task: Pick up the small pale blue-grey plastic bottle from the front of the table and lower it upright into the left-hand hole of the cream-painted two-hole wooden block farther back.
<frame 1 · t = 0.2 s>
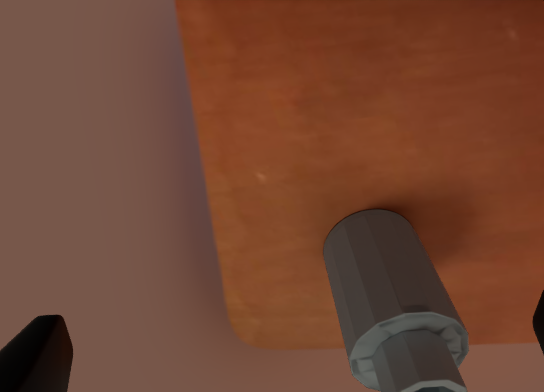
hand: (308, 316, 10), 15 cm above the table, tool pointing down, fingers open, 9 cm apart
bottle: (369, 247, 28), on the table
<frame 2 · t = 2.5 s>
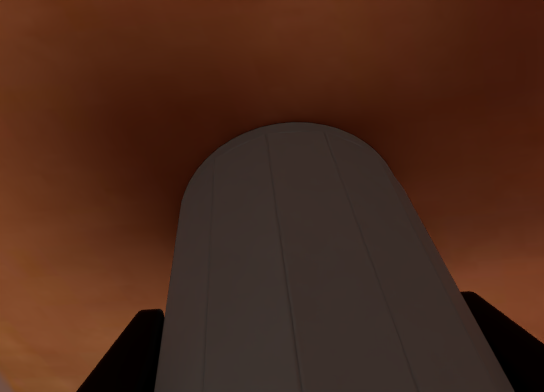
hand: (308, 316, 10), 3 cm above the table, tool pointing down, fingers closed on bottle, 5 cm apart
bottle: (290, 222, 12), on the table, touching gripper
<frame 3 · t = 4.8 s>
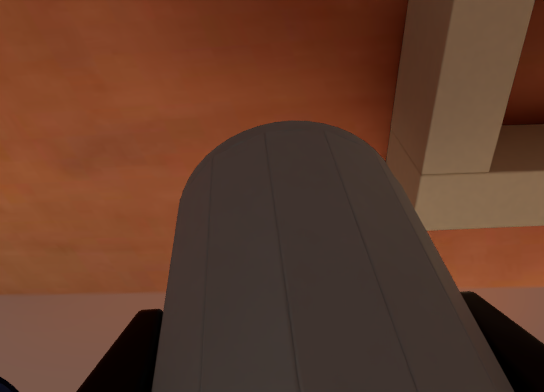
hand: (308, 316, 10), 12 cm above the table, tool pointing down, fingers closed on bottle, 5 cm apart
bottle: (289, 220, 12), point 9 cm above the table, touching gripper
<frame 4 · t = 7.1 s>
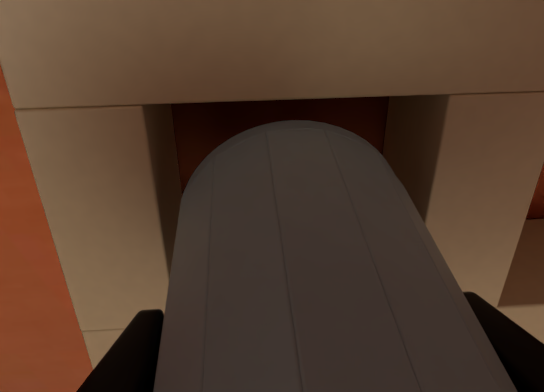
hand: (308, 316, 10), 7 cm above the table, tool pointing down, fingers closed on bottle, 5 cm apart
hole block: (423, 141, 15), on the table
bottle: (291, 220, 12), point 4 cm above the table, touching gripper
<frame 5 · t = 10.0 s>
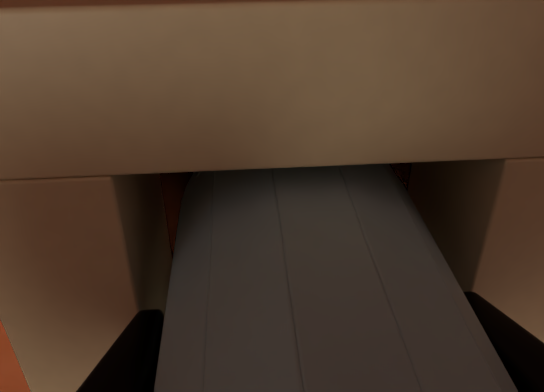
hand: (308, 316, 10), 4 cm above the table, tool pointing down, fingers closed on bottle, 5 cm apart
hole block: (453, 189, 13), on the table
bottle: (291, 220, 12), point 1 cm above the table, touching gripper
when the fingers open (4 cm above the table, at t = 11.8 s): bottle drops 1 cm, resting in hole block.
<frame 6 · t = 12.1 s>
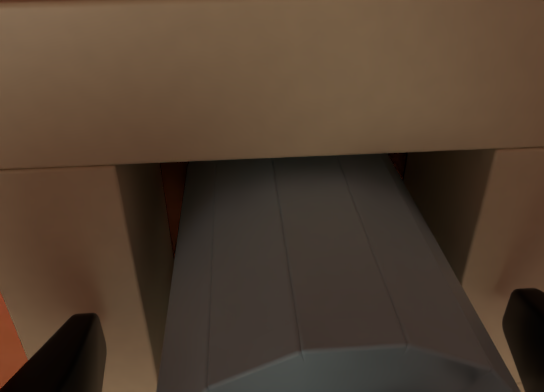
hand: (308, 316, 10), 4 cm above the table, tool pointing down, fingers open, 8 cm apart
hole block: (448, 182, 13), on the table
bottle: (286, 188, 13), resting in hole block
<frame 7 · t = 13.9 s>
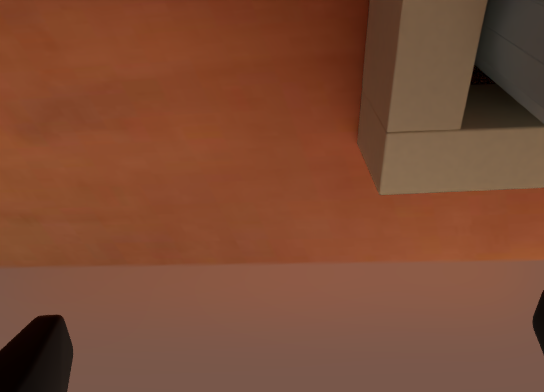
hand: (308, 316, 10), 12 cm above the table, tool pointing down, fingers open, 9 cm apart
bottle: (521, 0, 19), resting in hole block
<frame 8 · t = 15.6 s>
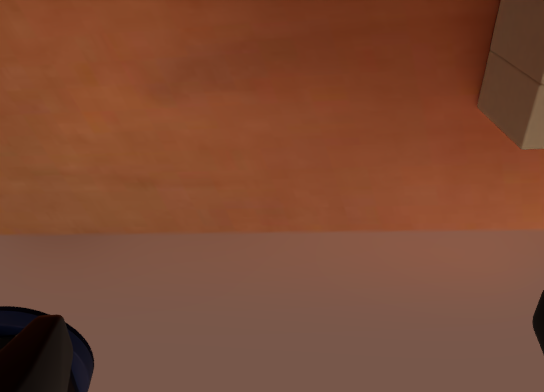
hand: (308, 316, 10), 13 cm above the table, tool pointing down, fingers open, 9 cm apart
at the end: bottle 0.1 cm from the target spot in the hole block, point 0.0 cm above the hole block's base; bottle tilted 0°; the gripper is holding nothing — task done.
